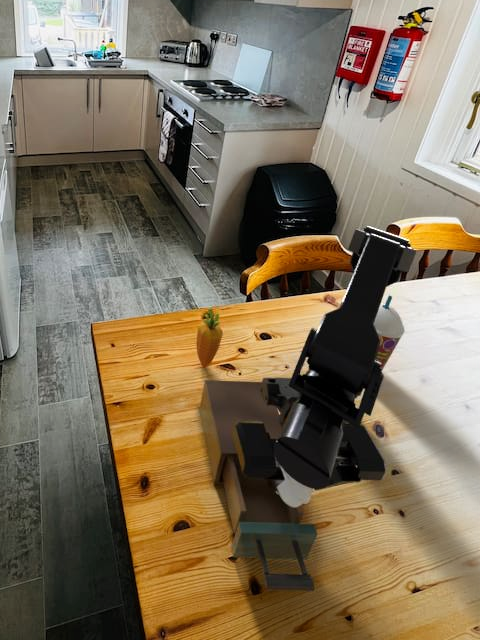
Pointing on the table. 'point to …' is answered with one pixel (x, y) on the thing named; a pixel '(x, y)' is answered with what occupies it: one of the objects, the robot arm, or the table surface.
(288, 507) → the drawer
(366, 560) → the table surface
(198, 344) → the carrot
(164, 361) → the table surface
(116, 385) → the table surface
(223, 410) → the cabinet
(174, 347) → the table surface
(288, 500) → the dumpling
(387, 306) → the smoothie
